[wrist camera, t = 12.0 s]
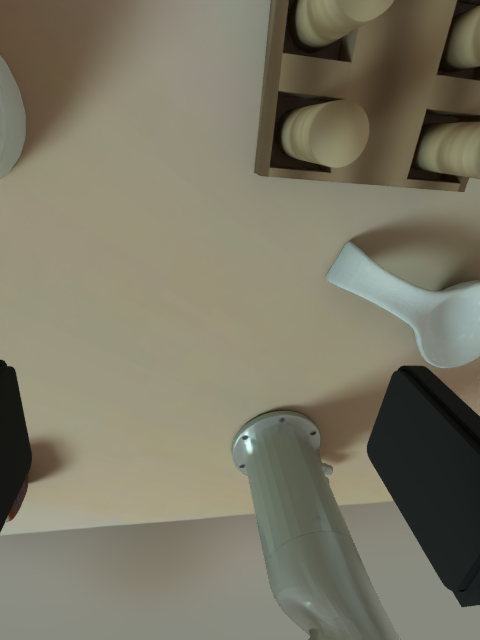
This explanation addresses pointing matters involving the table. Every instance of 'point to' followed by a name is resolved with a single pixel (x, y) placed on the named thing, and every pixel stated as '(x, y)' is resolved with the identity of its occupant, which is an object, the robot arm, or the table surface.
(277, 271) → the table surface
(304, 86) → the wooden peg tray
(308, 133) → the loose peg
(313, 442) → the robot arm
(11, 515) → the snack package
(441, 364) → the spoon rest
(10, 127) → the honey pot
